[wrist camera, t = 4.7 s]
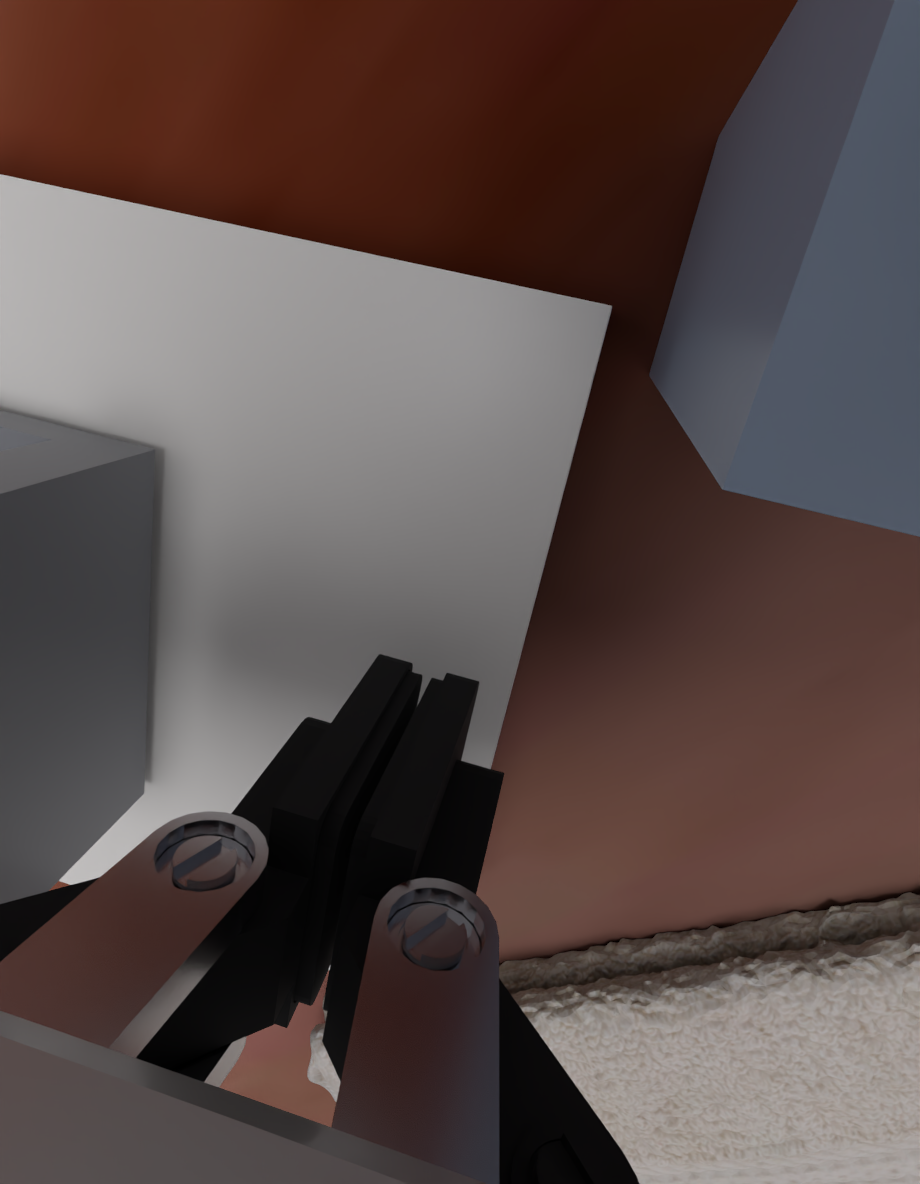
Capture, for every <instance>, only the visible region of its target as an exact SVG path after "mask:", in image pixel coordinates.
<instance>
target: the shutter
mask: <svg viewBox="0 0 920 1184" xmlns="http://www.w3.org/2000/svg"><path fill="white" fill-rule="evenodd" d="M154 469H155V449H151V448H147V447H143V446H139V445H136V444H132V443H128V442H124V441H120V440H116V439H112V438H108V437H104V436H100V435H96V434H92V433H88V432H84V431H81V430H77V429H73V428H69V427H65V426H61V425H57V424H53V423H49V422H45V421H41V420H37V419H33V418H29V417H26V416H22V415H18V414H14V413H10V412H6V411H2V410H0V904H2V903H6V902H10V901H14V900H17V899H21V898H25V897H28V896H32V895H36V894H40V893H43V892H47V891H49V890H50V889H51V888H52V887H53V886H54V885H55V884H56V883H57V882H58V881H59V880H60V879H61V878H62V877H63V876H64V875H65V874H66V873H67V871H68V870H69V869H70V868H71V867H72V866H73V865H74V864H75V863H76V862H77V861H78V860H79V859H80V858H81V857H82V856H83V855H84V854H85V853H86V852H87V851H88V850H89V849H90V848H91V847H92V846H93V845H94V844H95V843H96V842H97V841H98V840H99V839H100V838H101V837H102V836H103V835H104V834H105V833H106V832H107V831H108V830H109V829H110V828H111V827H112V826H113V825H114V824H115V823H116V822H117V821H118V820H119V819H120V818H121V817H122V816H123V815H124V814H125V813H126V812H127V811H128V810H129V809H130V808H131V806H132V805H133V804H134V803H135V802H136V801H137V800H138V799H139V798H140V797H141V796H142V795H143V794H144V786H145V754H146V722H147V691H148V659H149V627H150V596H151V564H152V532H153V500H154Z"/></svg>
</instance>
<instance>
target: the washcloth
mask: <svg viewBox="0 0 920 1184" xmlns="http://www.w3.org/2000/svg"><path fill="white" fill-rule="evenodd" d="M499 978H500V980H501V981H502V983H503V984H504V985H505V987H506V988H507V990H508V991H509V992H510V994H511V995H512V997H513V998H514V1000H515V1001H516V1002H517V1004H518V1005H519V1007H520V1008H521V1009H522V1011H523V1012H524V1014H525V1015H526V1016H527V1018H528V1019H529V1021H530V1022H531V1023H532V1025H533V1026H534V1028H535V1029H536V1030H537V1032H538V1033H539V1035H540V1036H541V1037H542V1039H543V1040H544V1042H545V1043H546V1044H547V1046H548V1047H549V1049H550V1050H551V1051H552V1053H553V1054H554V1056H555V1057H556V1058H557V1060H558V1061H559V1063H560V1064H561V1066H562V1067H563V1068H564V1070H565V1071H566V1073H567V1074H568V1075H569V1077H570V1078H571V1080H572V1081H573V1082H574V1084H575V1085H576V1087H577V1088H578V1089H579V1091H580V1092H581V1094H582V1095H583V1096H584V1098H585V1099H586V1101H587V1102H588V1103H589V1105H590V1106H591V1108H592V1109H593V1110H594V1112H595V1113H596V1115H597V1116H598V1117H599V1119H600V1120H601V1122H602V1123H603V1124H604V1126H605V1127H606V1129H607V1130H608V1131H609V1133H610V1134H611V1136H612V1137H613V1139H614V1140H615V1141H616V1143H617V1144H618V1146H619V1147H620V1148H621V1150H622V1151H623V1153H624V1155H625V1156H626V1158H627V1160H628V1162H629V1163H630V1165H631V1167H632V1169H633V1171H634V1172H635V1174H636V1176H637V1178H638V1182H639V1183H640V1184H920V895H916V894H913V893H911V892H909V893H904V894H902V895H901V896H899V897H898V898H896V899H895V898H891V899H887V900H883V901H880V902H877V903H852V904H850V905H845V906H831V907H830V908H829V910H823V911H809V912H806V913H805V914H803V913H800V912H797V911H795V912H791V913H788V914H781V915H778V916H775V917H768V918H765V919H762V920H759V921H753V922H748V921H744V922H741V923H738V924H735V925H733V926H729V927H726V928H718V927H716V926H711V927H710V928H708V929H706V930H694V929H693V930H691V931H683V932H680V933H677V932H666V933H658V934H656V935H655V936H654V938H652V939H635V940H630V939H624V938H623V939H620V941H619V942H618V943H615V942H610V943H608V944H607V945H606V946H593V947H590V948H589V949H588V950H586V951H569V952H565V953H558V954H555V955H554V956H553V957H552V958H549V959H543V958H532V959H527V960H512V961H505V962H504V963H503V964H501V965H500V966H499ZM324 999H325V996H324V998H323V1004H324ZM323 1011H324V1015H325V1022H326V1017H327V1011H325V1010H323ZM324 1028H325V1023H324V1024H317V1025H316V1026H315V1027H314V1029H313V1030H312V1032H311V1035H310V1043H311V1052H312V1055H311V1060H310V1064H309V1067H308V1078H309V1080H310V1081H311V1082H313V1083H317V1084H319V1085H321V1086H323V1087H324V1088H326V1089H327V1090H328V1091H329V1092H330V1093H331V1095H332V1096H333V1098H334V1100H335V1102H337V1097H338V1092H339V1087H340V1079H339V1077H338V1075H337V1073H336V1071H335V1068H334V1066H333V1064H332V1062H331V1060H330V1058H329V1055H328V1053H327V1051H326V1049H325V1047H324V1044H323V1042H322V1039H323V1033H324Z"/></svg>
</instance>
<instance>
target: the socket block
mask: <svg viewBox="0 0 920 1184" xmlns="http://www.w3.org/2000/svg"><path fill="white" fill-rule="evenodd" d="M611 311H612V306H610V305H606V304H601V303H596V302H592V301H587V300H582V299H578V298H573V297H568V296H564V295H559V294H555V293H550V292H545V291H541V290H536V289H531V288H527V287H522V286H517V285H513V284H508V283H503V282H499V281H494V280H489V279H485V278H480V277H475V276H471V275H466V274H462V273H457V272H452V271H448V270H443V269H438V268H434V267H429V266H424V265H420V264H415V263H410V262H406V261H401V260H396V259H392V258H387V257H382V256H378V255H373V254H369V253H364V252H359V251H355V250H350V249H345V248H341V247H336V246H331V245H327V244H322V243H317V242H313V241H308V240H303V239H299V238H294V237H289V236H285V235H280V234H276V233H271V232H266V231H262V230H257V229H252V228H248V227H243V226H238V225H234V224H229V223H224V222H220V221H215V220H210V219H206V218H201V217H196V216H192V215H187V214H183V213H178V212H173V211H169V210H164V209H159V208H155V207H150V206H145V205H141V204H136V203H131V202H127V201H122V200H117V199H113V198H108V197H103V196H99V195H94V194H90V193H85V192H80V191H76V190H71V189H66V188H62V187H57V186H52V185H48V184H43V183H38V182H34V181H29V180H24V179H20V178H15V177H10V176H6V175H1V174H0V410H2V411H6V412H10V413H14V414H18V415H22V416H26V417H29V418H33V419H37V420H41V421H45V422H49V423H53V424H57V425H61V426H65V427H69V428H73V429H77V430H81V431H84V432H88V433H92V434H96V435H100V436H104V437H108V438H112V439H116V440H120V441H124V442H128V443H132V444H136V445H139V446H143V447H147V448H151V449H155V469H154V500H153V532H152V564H151V596H150V627H149V659H148V691H147V722H146V754H145V786H144V794H143V795H142V796H141V797H140V798H139V799H138V800H137V801H136V802H135V803H134V804H133V805H132V806H131V808H130V809H129V810H128V811H127V812H126V813H125V814H124V815H123V816H122V817H121V818H120V819H119V820H118V821H117V822H116V823H115V824H114V825H113V826H112V827H111V828H110V829H109V830H108V831H107V832H106V833H105V834H104V835H103V836H102V837H101V838H100V839H99V840H98V841H97V842H96V843H95V844H94V845H93V846H92V847H91V848H90V849H89V850H88V851H87V852H86V853H85V854H84V855H83V856H82V857H81V858H80V859H79V860H78V861H77V862H76V863H75V864H74V865H73V866H72V867H71V868H70V869H69V870H68V871H67V873H66V874H65V875H64V876H63V877H62V878H61V879H60V880H59V881H61V882H64V883H67V884H70V885H73V884H77V883H81V882H84V881H88V880H92V879H95V878H99V877H101V876H102V875H103V874H104V873H106V872H107V871H108V870H109V869H110V868H112V867H113V866H114V865H115V864H116V863H117V862H119V861H120V860H121V859H122V858H123V857H124V856H126V855H127V854H128V853H129V852H130V851H132V850H133V849H134V848H135V847H136V846H137V845H139V844H140V843H141V842H142V841H143V840H145V839H146V838H147V837H148V836H149V835H150V834H152V833H153V832H154V831H155V830H157V829H158V828H160V827H161V826H163V825H164V824H166V823H167V822H169V821H171V820H173V819H176V818H179V817H181V816H184V815H187V814H191V813H199V812H206V811H212V812H226V813H230V814H231V813H232V812H233V811H234V809H235V808H236V807H237V805H238V804H239V803H240V802H241V800H242V799H243V798H244V796H245V795H246V794H247V792H248V791H249V790H250V789H251V787H252V786H253V785H254V783H255V782H256V781H257V779H258V778H259V777H260V776H261V774H262V773H263V772H264V770H265V769H266V768H267V766H268V765H269V764H270V763H271V761H272V760H273V759H274V757H275V756H276V755H277V753H278V752H279V751H280V750H281V748H282V747H283V746H284V744H285V743H286V742H287V740H288V739H289V738H290V737H291V735H292V734H293V733H294V731H295V730H296V729H297V727H298V726H299V725H300V723H301V722H302V721H303V720H304V719H305V718H307V717H312V718H315V719H319V720H322V721H326V722H329V723H331V722H332V721H333V719H334V718H335V717H336V715H337V714H338V712H339V711H340V709H341V708H342V707H343V705H344V704H345V702H346V701H347V699H348V698H349V696H350V695H351V694H352V692H353V691H354V689H355V688H356V686H357V685H358V683H359V682H360V681H361V679H362V678H363V676H364V675H365V673H366V672H367V671H368V669H369V668H370V666H371V665H372V663H373V662H374V660H375V659H376V658H377V656H378V655H379V654H382V655H386V656H389V657H393V658H396V659H400V660H404V661H407V662H411V663H412V664H413V669H412V672H414V673H418V674H421V675H422V684H421V689H420V694H419V699H418V704H419V702H420V700H421V698H422V696H423V694H424V692H425V690H426V688H427V686H428V684H429V682H430V680H431V678H436V679H439V680H443V679H444V677H445V675H446V673H451V674H454V675H458V676H462V677H465V678H469V679H473V680H476V681H479V688H478V692H477V696H476V701H475V705H474V709H473V713H472V717H471V721H470V726H469V730H468V734H467V738H466V742H465V747H464V751H463V755H462V759H461V761H464V762H467V763H471V764H474V765H478V766H481V767H485V768H488V769H491V767H492V763H493V759H494V755H495V752H496V748H497V744H498V740H499V736H500V733H501V729H502V725H503V721H504V718H505V714H506V710H507V706H508V702H509V699H510V695H511V691H512V687H513V683H514V680H515V676H516V672H517V668H518V664H519V661H520V657H521V653H522V649H523V645H524V642H525V638H526V634H527V630H528V626H529V623H530V619H531V615H532V611H533V607H534V604H535V600H536V596H537V592H538V588H539V585H540V581H541V577H542V573H543V569H544V566H545V562H546V558H547V554H548V550H549V547H550V543H551V539H552V535H553V532H554V528H555V524H556V520H557V516H558V513H559V509H560V505H561V501H562V497H563V494H564V490H565V486H566V482H567V478H568V475H569V471H570V467H571V463H572V459H573V456H574V452H575V448H576V444H577V440H578V437H579V433H580V429H581V425H582V421H583V418H584V414H585V410H586V406H587V402H588V399H589V395H590V391H591V387H592V383H593V380H594V376H595V372H596V368H597V364H598V361H599V357H600V353H601V349H602V346H603V342H604V338H605V334H606V330H607V327H608V323H609V319H610V315H611ZM418 704H417V706H418ZM328 970H330V967H329V969H328Z"/></svg>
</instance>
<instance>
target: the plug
mask: <svg viewBox="0 0 920 1184" xmlns="http://www.w3.org/2000/svg"><path fill="white" fill-rule="evenodd" d="M649 376H650V378H651V379H652V381H653V383H654V384H655V386H656V387H657V389H658V390H659V392H660V393H661V395H662V397H663V398H664V400H665V401H666V403H667V404H668V406H669V407H670V409H671V411H672V412H673V414H674V415H675V417H676V418H677V420H678V421H679V423H680V425H681V426H682V428H683V429H684V431H685V432H686V434H687V435H688V437H689V439H690V440H691V442H692V443H693V445H694V446H695V448H696V449H697V451H698V453H699V454H700V456H701V457H702V459H703V460H704V462H705V463H706V465H707V467H708V468H709V470H710V471H711V473H712V474H713V476H714V477H715V479H716V481H717V482H718V484H719V485H720V487H721V488H722V490H726V491H731V492H735V493H739V494H743V495H747V496H752V497H756V498H760V499H764V500H768V501H772V502H777V503H781V504H785V505H789V506H793V507H798V508H802V509H806V510H810V511H814V512H818V513H823V514H827V515H831V516H835V517H839V518H844V519H848V520H852V521H856V522H860V523H865V524H869V525H873V526H877V527H881V528H885V529H890V530H894V531H898V532H902V533H906V534H911V535H915V536H919V537H920V0H798V1H797V3H796V5H795V6H794V8H793V10H792V12H791V13H790V15H789V17H788V18H787V20H786V22H785V24H784V25H783V27H782V29H781V30H780V32H779V34H778V36H777V37H776V39H775V41H774V42H773V44H772V46H771V48H770V49H769V51H768V53H767V54H766V56H765V58H764V60H763V61H762V63H761V65H760V66H759V68H758V70H757V71H756V73H755V75H754V77H753V78H752V80H751V82H750V83H749V85H748V87H747V89H746V90H745V92H744V94H743V95H742V97H741V99H740V101H739V102H738V104H737V106H736V107H735V109H734V111H733V113H732V114H731V116H730V118H729V119H728V121H727V123H726V124H725V126H724V128H723V130H722V131H721V133H720V135H719V137H718V140H717V144H716V147H715V150H714V154H713V157H712V161H711V164H710V168H709V171H708V174H707V178H706V181H705V185H704V188H703V192H702V195H701V198H700V202H699V205H698V209H697V212H696V215H695V219H694V222H693V226H692V229H691V233H690V236H689V239H688V243H687V246H686V250H685V253H684V257H683V260H682V263H681V267H680V270H679V274H678V277H677V281H676V284H675V287H674V291H673V294H672V298H671V301H670V305H669V308H668V311H667V315H666V318H665V322H664V325H663V328H662V332H661V335H660V339H659V342H658V346H657V349H656V352H655V356H654V359H653V363H652V366H651V370H650V373H649Z"/></svg>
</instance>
